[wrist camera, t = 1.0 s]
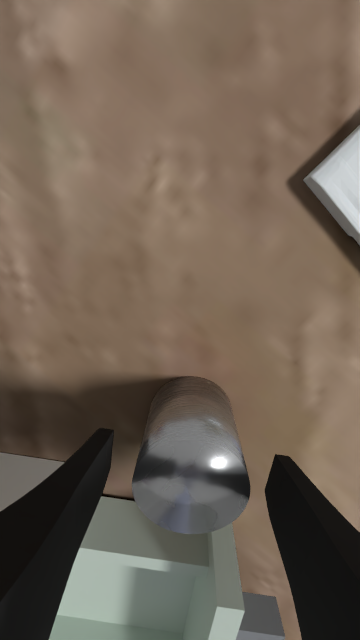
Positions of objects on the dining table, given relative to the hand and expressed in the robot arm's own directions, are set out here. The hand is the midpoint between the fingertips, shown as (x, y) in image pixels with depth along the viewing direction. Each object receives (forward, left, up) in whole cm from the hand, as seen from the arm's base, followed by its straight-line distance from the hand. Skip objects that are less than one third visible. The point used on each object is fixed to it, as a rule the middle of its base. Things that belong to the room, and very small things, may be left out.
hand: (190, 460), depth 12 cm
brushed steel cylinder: (0, 0, -4) cm, 4 cm away
